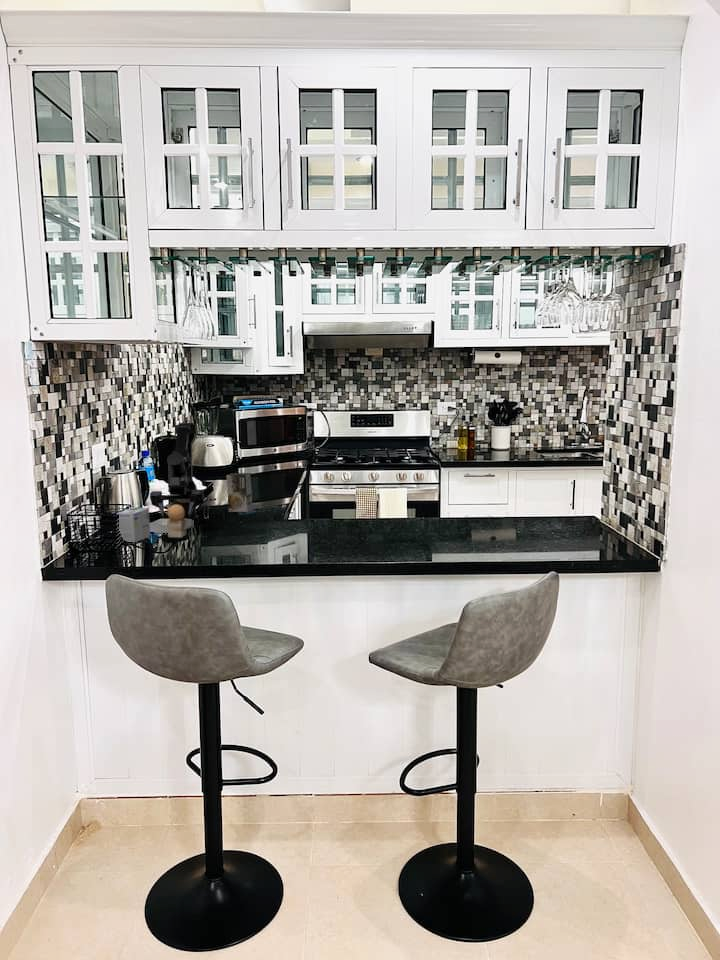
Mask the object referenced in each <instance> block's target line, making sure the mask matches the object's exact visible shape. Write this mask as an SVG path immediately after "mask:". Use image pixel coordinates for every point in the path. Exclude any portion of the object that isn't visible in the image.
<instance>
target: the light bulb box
mask: <svg viewBox="0 0 720 960" xmlns="http://www.w3.org/2000/svg"><path fill="white" fill-rule="evenodd" d="M117 514H118V515H119V531H120V534H121V537H122V538H123V540H125V541H127V542H133V543H132V544H136V543H138V541H139V542H141V541H144V540H146V539H149V538H150V537H151V534H150V524H151V523H150V510H149V507H131V508H128V509H126V510H122V511H120V512H119V511H118V512H116V515H117ZM145 538H146V539H145ZM140 540H141V541H140ZM135 542H136V543H135Z"/></svg>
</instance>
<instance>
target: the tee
mask: <svg viewBox="0 0 720 960" xmlns="http://www.w3.org/2000/svg"><path fill="white" fill-rule="evenodd" d="M169 519H170V518H169ZM167 525H168V534H167V538H183V537H185V536H187V530H186V518H183V519H181V520H179V521H173V520H171V519H170V520H168V521H167Z"/></svg>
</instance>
